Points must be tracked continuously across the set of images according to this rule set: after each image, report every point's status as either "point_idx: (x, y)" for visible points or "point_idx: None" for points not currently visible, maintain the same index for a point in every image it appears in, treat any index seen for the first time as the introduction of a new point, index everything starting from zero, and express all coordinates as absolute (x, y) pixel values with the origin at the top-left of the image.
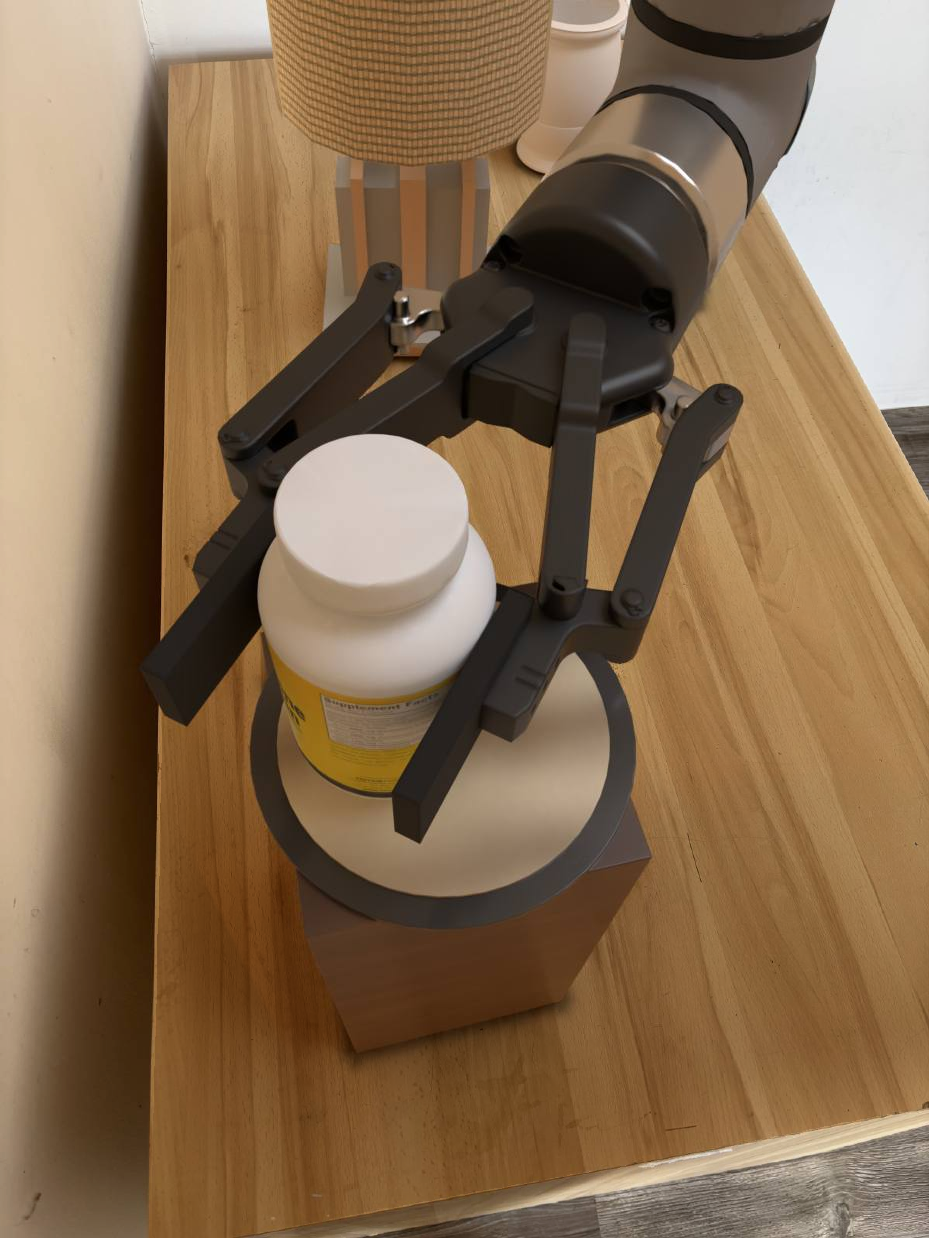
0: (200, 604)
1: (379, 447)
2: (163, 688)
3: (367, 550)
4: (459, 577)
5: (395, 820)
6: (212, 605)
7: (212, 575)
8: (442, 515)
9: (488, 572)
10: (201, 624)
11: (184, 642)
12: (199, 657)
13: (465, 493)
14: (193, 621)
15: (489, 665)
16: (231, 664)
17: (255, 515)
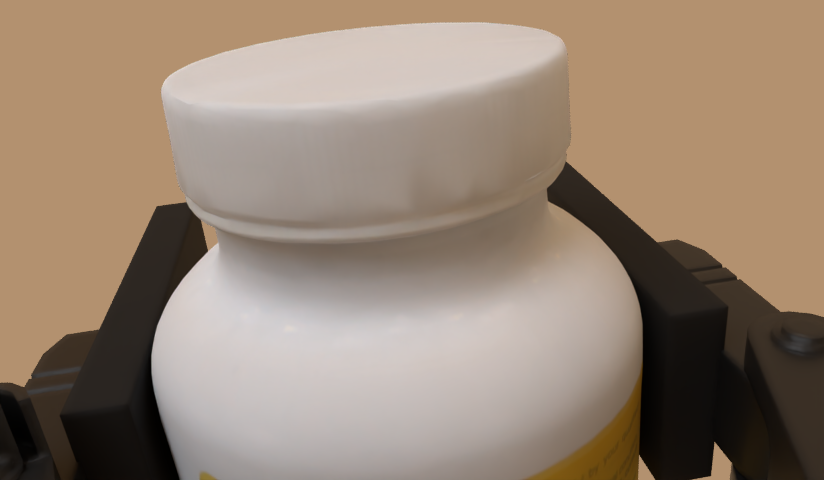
0: (583, 191)
1: (454, 76)
2: None
3: (311, 45)
4: (213, 280)
5: None
6: (569, 196)
7: (618, 208)
8: (216, 80)
9: (175, 365)
10: (554, 186)
11: None
12: None
13: (190, 101)
14: (565, 182)
15: (120, 307)
16: None
17: (729, 314)
